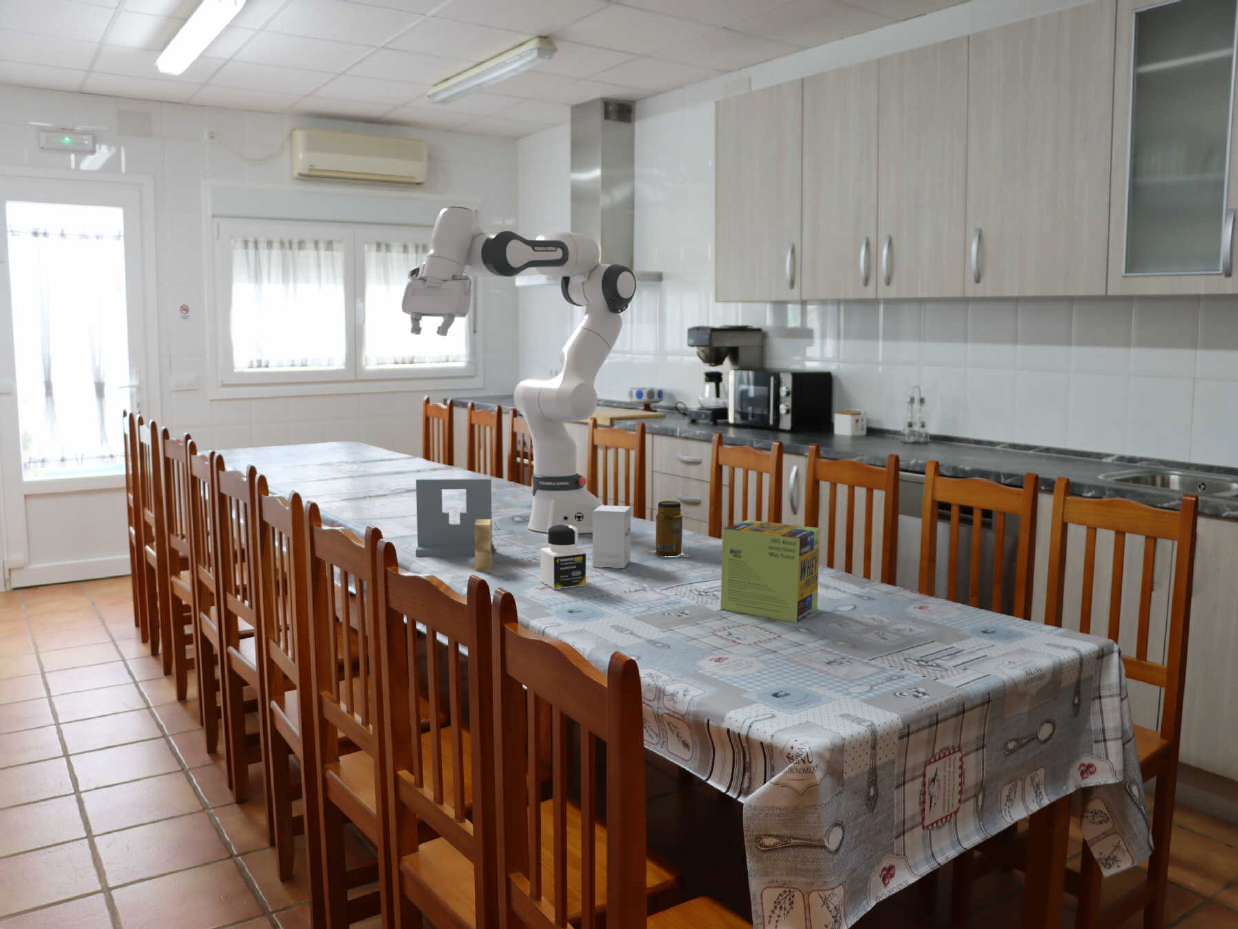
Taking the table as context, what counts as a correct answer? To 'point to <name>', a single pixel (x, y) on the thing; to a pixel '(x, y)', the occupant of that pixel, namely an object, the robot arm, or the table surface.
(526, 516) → the table surface
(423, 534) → the slate keyhole board
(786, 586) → the protein box
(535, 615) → the table surface
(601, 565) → the supplement box
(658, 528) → the condiment
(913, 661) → the table surface
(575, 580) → the medicine bottle
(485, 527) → the hanger block
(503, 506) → the table surface
